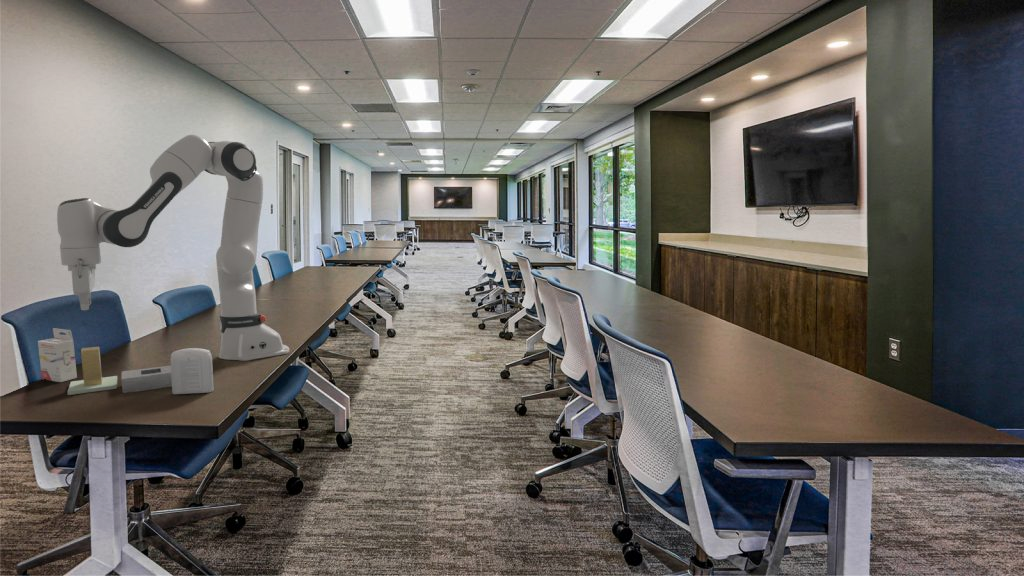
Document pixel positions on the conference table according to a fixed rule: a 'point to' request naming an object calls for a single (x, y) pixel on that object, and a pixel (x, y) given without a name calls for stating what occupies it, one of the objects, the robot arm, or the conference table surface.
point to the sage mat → (92, 386)
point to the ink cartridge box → (58, 357)
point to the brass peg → (91, 366)
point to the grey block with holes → (146, 379)
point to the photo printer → (191, 371)
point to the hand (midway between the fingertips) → (86, 307)
